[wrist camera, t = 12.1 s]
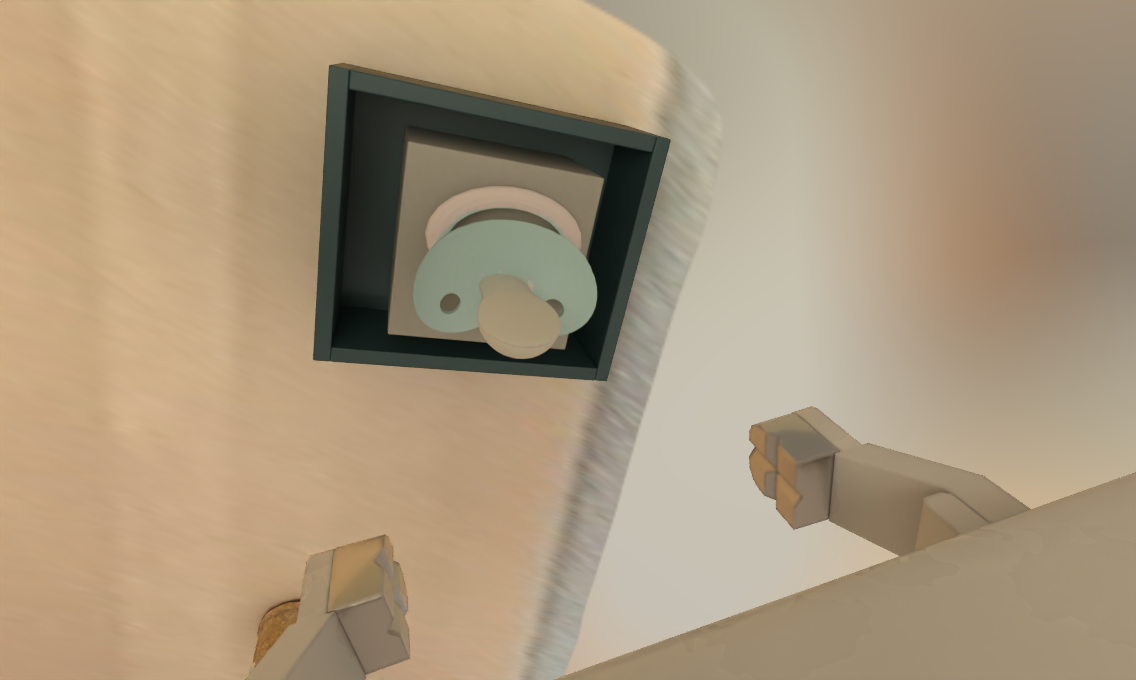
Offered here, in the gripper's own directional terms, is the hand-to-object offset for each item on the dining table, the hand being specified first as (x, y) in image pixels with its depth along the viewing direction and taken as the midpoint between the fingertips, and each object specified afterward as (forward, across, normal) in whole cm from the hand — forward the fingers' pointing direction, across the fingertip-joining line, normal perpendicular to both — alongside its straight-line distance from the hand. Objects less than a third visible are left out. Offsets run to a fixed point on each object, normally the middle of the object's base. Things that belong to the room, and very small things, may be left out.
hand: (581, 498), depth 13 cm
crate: (+21, -1, -1) cm, 21 cm away
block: (+20, -1, -1) cm, 20 cm away
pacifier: (+14, -1, -1) cm, 15 cm away
